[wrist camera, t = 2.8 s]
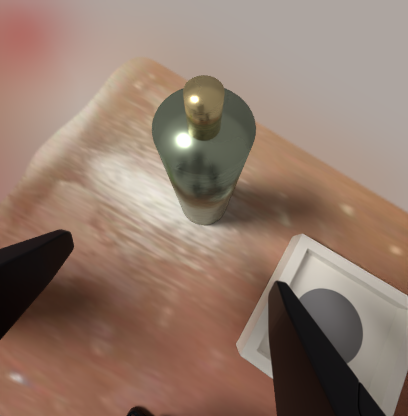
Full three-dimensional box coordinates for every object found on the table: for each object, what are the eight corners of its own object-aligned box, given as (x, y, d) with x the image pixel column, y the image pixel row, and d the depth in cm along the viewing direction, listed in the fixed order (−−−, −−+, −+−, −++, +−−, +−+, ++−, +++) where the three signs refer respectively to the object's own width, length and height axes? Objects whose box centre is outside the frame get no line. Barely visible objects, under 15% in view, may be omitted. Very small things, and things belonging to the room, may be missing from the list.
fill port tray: (357, 431, 17) (380, 456, 15) (235, 344, 18) (240, 355, 16) (403, 302, 19) (427, 307, 17) (292, 236, 21) (302, 233, 19)
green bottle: (210, 233, 21) (225, 174, 7) (172, 209, 22) (111, 108, 7) (234, 196, 22) (291, 76, 8) (197, 174, 23) (186, 26, 8)
